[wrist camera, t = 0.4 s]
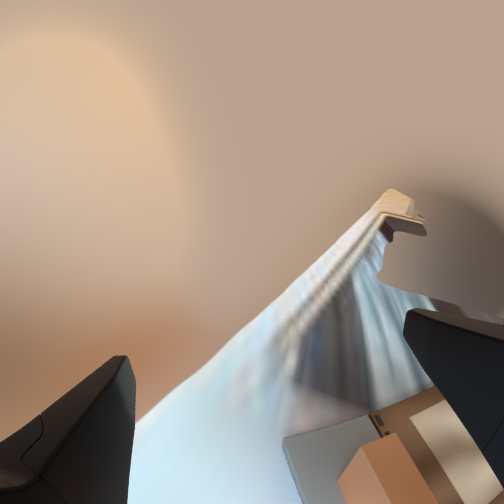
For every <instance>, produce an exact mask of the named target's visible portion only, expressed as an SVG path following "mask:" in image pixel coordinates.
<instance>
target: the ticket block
mask: <svg viewBox="0 0 504 504" xmlns="http://www.w3.org/2000/svg"><path fill="white" fill-rule="evenodd" d="M368 417H369V418H370V420H371V422H372V424H373V425H374V427H375V429H376V430H377V432H378V434H379V436H380V437H381V438H383V437H385V436H388V435H390V434H392V433H396V434H397V436H398V437H399V439H400V441H401V442H402V444H403V446H404V447H405V449H406V450H407V452H408V454H409V455H410V457H411V459H412V460H413V462H414V464H415V465H416V467H417V469H418V470H419V472H420V474H421V475H422V477H423V479H424V480H425V482H426V484H427V485H428V487H429V489H430V490H431V492H432V494H433V495H434V497H435V499H436V500H437V502H438V504H504V489H503V487H502V486H501V484H500V482H499V481H498V479H497V477H496V476H495V474H494V472H493V471H492V469H491V467H490V466H489V464H488V463H487V461H486V459H485V458H484V456H483V455H482V452H481V451H480V450H479V448H478V446H477V445H476V443H475V442H474V440H473V439H472V437H471V436H470V434H469V433H468V431H467V430H466V428H465V427H464V425H463V424H462V423H461V421H460V420H459V418H458V417H457V415H456V414H455V412H454V411H453V410H452V408H451V407H450V405H449V404H448V402H447V401H446V400H445V398H444V397H443V395H442V394H441V393H440V391H439V390H438V389H437V387H436V386H434V387H432V388H430V389H428V390H426V391H423V392H421V393H419V394H417V395H415V396H412V397H410V398H408V399H405V400H403V401H401V402H398V403H396V404H393V405H391V406H388V407H386V408H383V409H381V410H378V411H375V412H373V413H370V414H369V416H368Z"/></svg>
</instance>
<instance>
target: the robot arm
mask: <svg viewBox="0 0 504 504" xmlns="http://www.w3.org/2000/svg"><path fill="white" fill-rule="evenodd" d="M403 336H404V338H405V340H406V342H407V343H408V345H409V347H410V348H411V350H412V351H413V353H414V355H415V356H416V358H417V360H418V361H419V363H420V365H421V366H422V368H423V369H424V371H425V372H426V374H427V375H428V376H429V378H430V379H431V380H432V382H433V383H434V384H435V386H436V387H437V389H438V390H439V391H440V393H441V394H442V395H443V397H444V398H445V400H446V401H447V402H448V404H449V405H450V407H451V408H452V410H453V411H454V412H455V414H456V415H457V417H458V418H459V420H460V421H461V423H462V424H463V425H464V427H465V428H466V430H467V431H468V433H469V434H470V436H471V437H472V439H473V440H474V442H475V443H476V445H477V446H478V448H479V450H480V451H481V452H482V455H483V456H484V458H485V459H486V461H487V463H488V464H489V466H490V467H491V469H492V471H493V472H494V474H495V476H496V477H497V479H498V481H499V482H500V484H501V486H502V487H503V489H504V325H501V324H497V323H491V322H486V321H481V320H476V319H471V318H465V317H460V316H455V315H450V314H445V313H440V312H435V311H430V310H425V309H421V308H415V309H411V310H409V311H408V312H407V313H406V317H405V323H404V329H403ZM135 398H136V380H135V376H134V373H133V370H132V367H131V364H130V361H129V358H128V357H127V356H113V357H112V358H111V359H109V360H108V361H107V362H106V363H104V364H103V365H102V366H101V367H99V368H98V369H97V370H95V371H94V372H93V373H92V374H90V375H89V376H88V377H86V378H85V379H84V380H83V381H81V382H80V383H79V384H77V385H76V386H75V387H74V388H72V389H71V390H70V391H69V392H67V393H66V394H65V395H63V396H62V397H61V398H60V399H58V400H57V401H56V402H55V403H53V404H52V405H51V406H49V407H48V408H47V409H46V410H45V411H43V412H42V413H41V415H38V416H37V417H35V418H34V419H33V420H32V421H30V422H29V423H28V424H26V425H25V426H24V427H22V428H21V429H20V430H18V431H17V432H15V433H14V434H12V435H11V436H9V437H8V438H6V439H5V440H3V441H1V442H0V504H127V499H128V486H129V475H130V465H131V455H132V447H133V439H134V431H135V401H136V400H135Z"/></svg>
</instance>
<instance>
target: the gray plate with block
mask: <svg viewBox="0 0 504 504" xmlns="http://www.w3.org/2000/svg"><path fill="white" fill-rule="evenodd" d="M282 448H283V451H284V454H285V456H286V459H287V462H288V465H289V468H290V471H291V473H292V476H293V479H294V482H295V484H296V487H297V490H298V493H299V495H300V498H301V501H302V503H303V504H438V502H437V500H436V499H435V497H434V495H433V494H432V492H431V490H430V489H429V487H428V485H427V484H426V482H425V480H424V479H423V477H422V475H421V474H420V472H419V470H418V469H417V467H416V465H415V464H414V462H413V460H412V459H411V457H410V455H409V454H408V452H407V450H406V449H405V447H404V446H403V444H402V442H401V441H400V439H399V437H398V436H397V434H396V433H392V434H390V435H388V436H385V437H383V438H381V437H380V436H379V434H378V432H377V430H376V429H375V427H374V425H373V424H372V422H371V420H370V418H369V417H368V415H364V416H361V417H358V418H355V419H352V420H349V421H346V422H343V423H340V424H337V425H333V426H330V427H326V428H323V429H319V430H316V431H312V432H308V433H304V434H300V435H296V436H292V437H287V438H284V439H283V444H282Z"/></svg>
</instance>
